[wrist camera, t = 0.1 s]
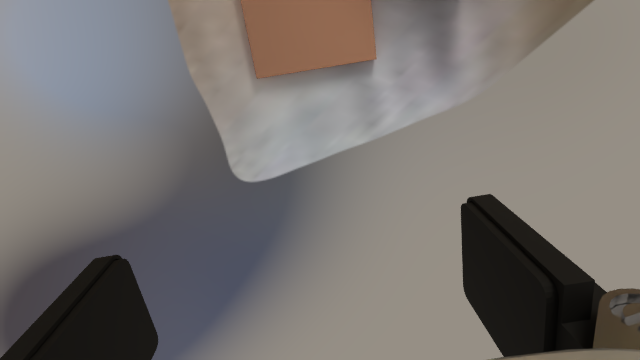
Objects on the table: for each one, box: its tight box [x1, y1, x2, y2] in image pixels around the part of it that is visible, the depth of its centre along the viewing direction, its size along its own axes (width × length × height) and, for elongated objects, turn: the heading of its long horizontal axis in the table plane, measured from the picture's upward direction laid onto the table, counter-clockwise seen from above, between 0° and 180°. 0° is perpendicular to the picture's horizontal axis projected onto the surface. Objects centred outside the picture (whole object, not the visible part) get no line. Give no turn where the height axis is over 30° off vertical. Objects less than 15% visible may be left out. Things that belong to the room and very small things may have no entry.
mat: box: [241, 0, 376, 79], centre depth 36 cm, size 12×12×1 cm
